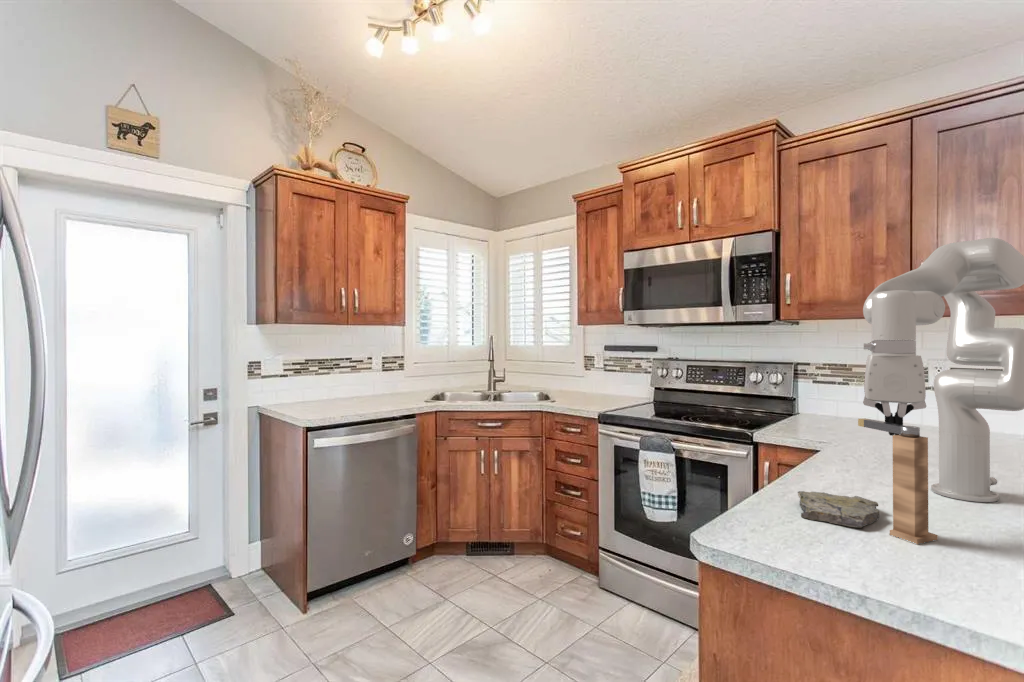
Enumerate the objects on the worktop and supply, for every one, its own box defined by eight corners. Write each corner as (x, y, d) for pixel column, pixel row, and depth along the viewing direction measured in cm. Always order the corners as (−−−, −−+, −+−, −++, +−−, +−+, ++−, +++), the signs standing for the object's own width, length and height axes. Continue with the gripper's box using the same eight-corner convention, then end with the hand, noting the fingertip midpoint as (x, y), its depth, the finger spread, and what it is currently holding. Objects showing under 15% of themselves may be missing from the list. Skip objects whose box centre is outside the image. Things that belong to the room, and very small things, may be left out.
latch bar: (923, 437, 98) (923, 427, 98) (910, 437, 98) (910, 428, 98) (867, 425, 111) (867, 417, 111) (855, 426, 111) (855, 418, 111)
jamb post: (909, 531, 102) (909, 433, 102) (937, 540, 98) (937, 438, 98) (889, 535, 100) (889, 435, 100) (917, 544, 96) (916, 440, 96)
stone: (881, 536, 101) (881, 518, 101) (794, 520, 109) (794, 504, 109) (876, 511, 116) (876, 496, 116) (799, 499, 124) (800, 485, 124)
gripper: (851, 348, 107) (852, 434, 107) (942, 349, 99) (943, 441, 99) (850, 348, 114) (850, 429, 114) (935, 348, 106) (935, 435, 106)
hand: (893, 434), depth 106 cm, fingers closed
